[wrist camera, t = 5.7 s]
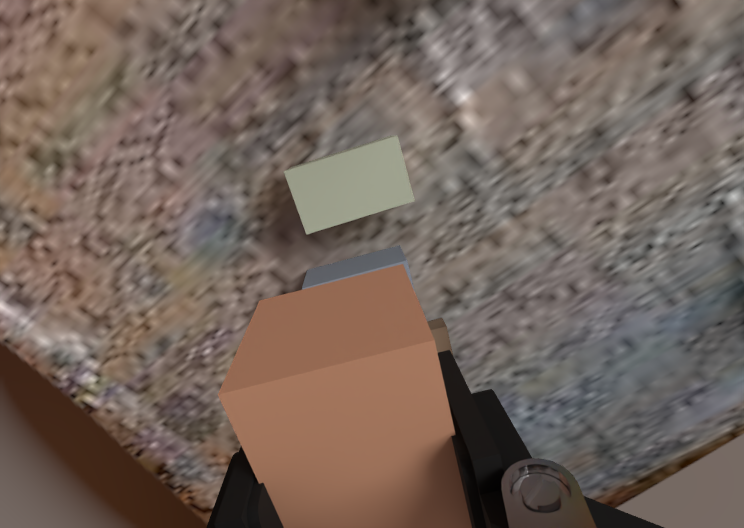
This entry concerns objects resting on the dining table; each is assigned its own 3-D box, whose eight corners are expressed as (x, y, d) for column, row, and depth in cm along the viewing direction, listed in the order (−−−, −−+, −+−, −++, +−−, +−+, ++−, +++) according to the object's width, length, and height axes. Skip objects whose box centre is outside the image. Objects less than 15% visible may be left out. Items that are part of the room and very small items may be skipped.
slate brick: (399, 244, 30) (406, 260, 26) (411, 293, 31) (420, 315, 27) (307, 269, 30) (301, 288, 26) (322, 317, 31) (319, 341, 28)
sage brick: (390, 135, 28) (397, 135, 24) (405, 192, 29) (414, 200, 25) (292, 166, 28) (283, 171, 24) (311, 221, 29) (306, 234, 25)
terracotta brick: (259, 300, 11) (217, 394, 7) (402, 263, 11) (434, 340, 7) (330, 486, 14) (326, 629, 10) (448, 457, 13) (489, 589, 10)
